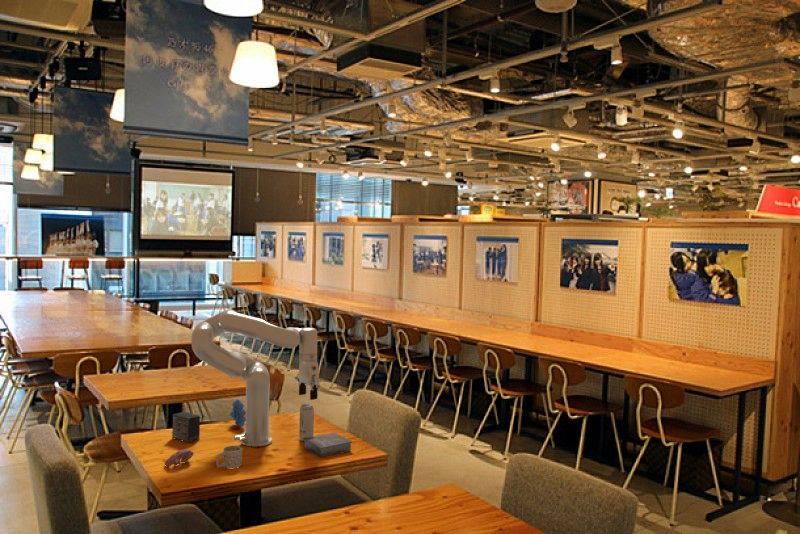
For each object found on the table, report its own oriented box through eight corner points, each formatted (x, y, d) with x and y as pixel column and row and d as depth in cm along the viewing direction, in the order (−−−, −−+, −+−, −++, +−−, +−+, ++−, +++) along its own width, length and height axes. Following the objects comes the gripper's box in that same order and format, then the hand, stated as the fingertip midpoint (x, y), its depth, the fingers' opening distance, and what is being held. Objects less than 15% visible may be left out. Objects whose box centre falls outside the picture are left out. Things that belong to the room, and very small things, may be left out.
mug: (236, 461, 244) (236, 444, 244) (244, 466, 239) (245, 449, 239) (211, 467, 237) (212, 449, 237) (220, 472, 232) (220, 454, 232)
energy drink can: (296, 439, 273) (297, 404, 272) (309, 436, 277) (309, 402, 276) (303, 442, 268) (304, 407, 268) (315, 440, 272) (316, 405, 271)
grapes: (224, 424, 292) (224, 398, 291) (238, 422, 296) (238, 396, 295) (234, 430, 283) (235, 404, 282) (249, 428, 287) (249, 402, 286)
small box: (200, 439, 269) (201, 415, 269) (188, 443, 264) (188, 418, 263) (184, 435, 275) (184, 411, 274) (171, 438, 269) (171, 414, 269)
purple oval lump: (169, 473, 235) (175, 457, 233) (162, 465, 237) (168, 450, 235) (191, 465, 243) (197, 450, 241) (184, 457, 245) (189, 443, 243)
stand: (320, 457, 250) (320, 447, 250) (302, 448, 261) (303, 438, 261) (352, 451, 259) (352, 441, 259) (334, 442, 270) (334, 432, 270)
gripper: (326, 359, 266) (326, 399, 267) (306, 353, 280) (305, 391, 281) (310, 361, 262) (310, 402, 263) (290, 354, 276) (290, 394, 276)
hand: (308, 396), depth 272 cm, fingers open, 9 cm apart
